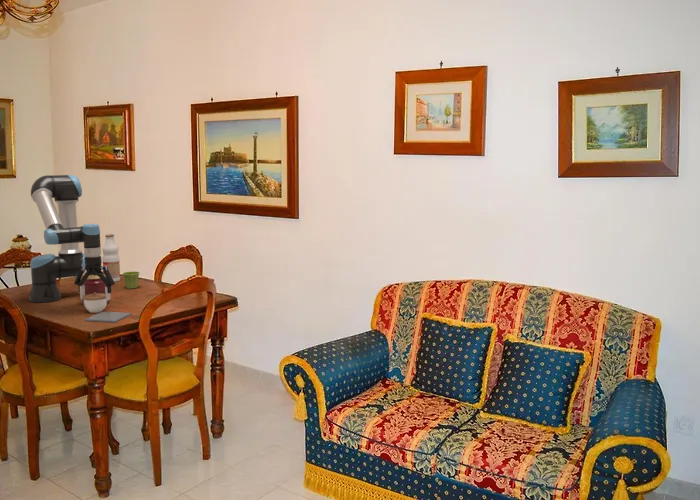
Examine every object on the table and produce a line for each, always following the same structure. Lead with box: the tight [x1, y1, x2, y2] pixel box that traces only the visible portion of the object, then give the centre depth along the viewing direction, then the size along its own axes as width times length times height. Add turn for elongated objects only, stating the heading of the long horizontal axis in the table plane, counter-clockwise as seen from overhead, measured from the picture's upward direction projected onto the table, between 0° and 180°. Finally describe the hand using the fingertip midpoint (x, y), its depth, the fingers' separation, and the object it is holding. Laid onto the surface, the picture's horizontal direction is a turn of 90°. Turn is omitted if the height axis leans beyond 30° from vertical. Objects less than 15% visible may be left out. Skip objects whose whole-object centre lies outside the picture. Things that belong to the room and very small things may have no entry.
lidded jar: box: [83, 292, 107, 314], centre depth 310 cm, size 11×11×9 cm
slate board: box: [84, 310, 133, 324], centre depth 299 cm, size 15×15×1 cm
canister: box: [81, 273, 110, 307], centre depth 325 cm, size 13×13×18 cm
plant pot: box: [122, 271, 141, 290], centre depth 364 cm, size 9×9×9 cm
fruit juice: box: [101, 233, 121, 282], centre depth 382 cm, size 9×9×28 cm
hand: (95, 299), depth 309 cm, fingers open, 13 cm apart
